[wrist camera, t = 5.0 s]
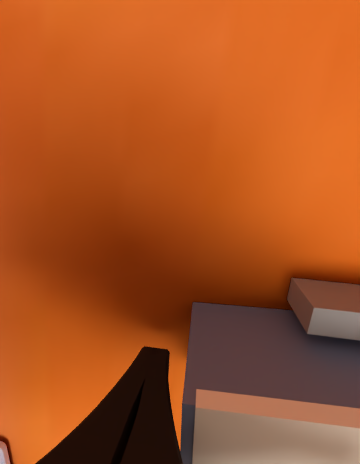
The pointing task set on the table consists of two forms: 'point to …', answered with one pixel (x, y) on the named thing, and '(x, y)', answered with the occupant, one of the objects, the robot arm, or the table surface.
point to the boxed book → (268, 390)
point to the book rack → (326, 307)
